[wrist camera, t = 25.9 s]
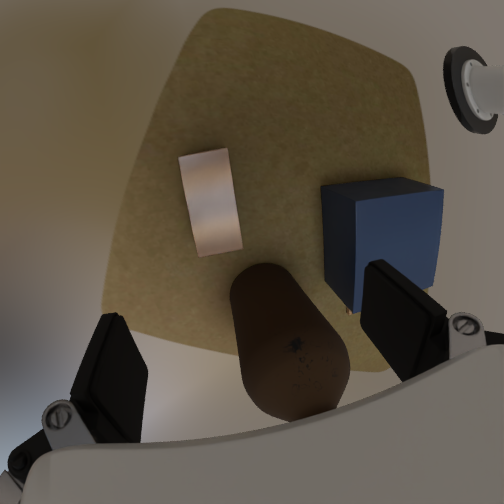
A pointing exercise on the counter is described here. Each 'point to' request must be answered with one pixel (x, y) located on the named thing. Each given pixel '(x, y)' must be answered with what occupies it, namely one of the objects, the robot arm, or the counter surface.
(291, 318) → the olive oil
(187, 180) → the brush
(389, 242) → the blue drawer box
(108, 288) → the counter surface
